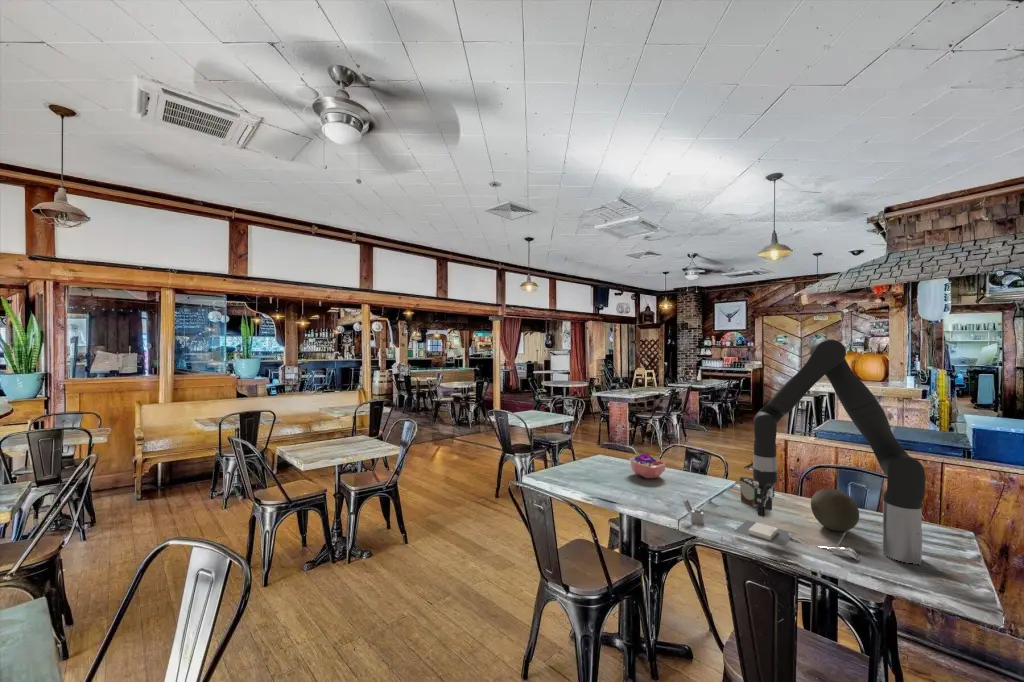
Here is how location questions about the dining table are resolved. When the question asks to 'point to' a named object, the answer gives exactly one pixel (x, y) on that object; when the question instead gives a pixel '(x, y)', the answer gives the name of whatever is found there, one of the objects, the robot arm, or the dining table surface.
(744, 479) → the food container
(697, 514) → the lighter
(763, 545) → the dining table surface
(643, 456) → the cell model
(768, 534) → the tile
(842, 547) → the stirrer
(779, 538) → the mat
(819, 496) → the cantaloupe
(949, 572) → the dining table surface
